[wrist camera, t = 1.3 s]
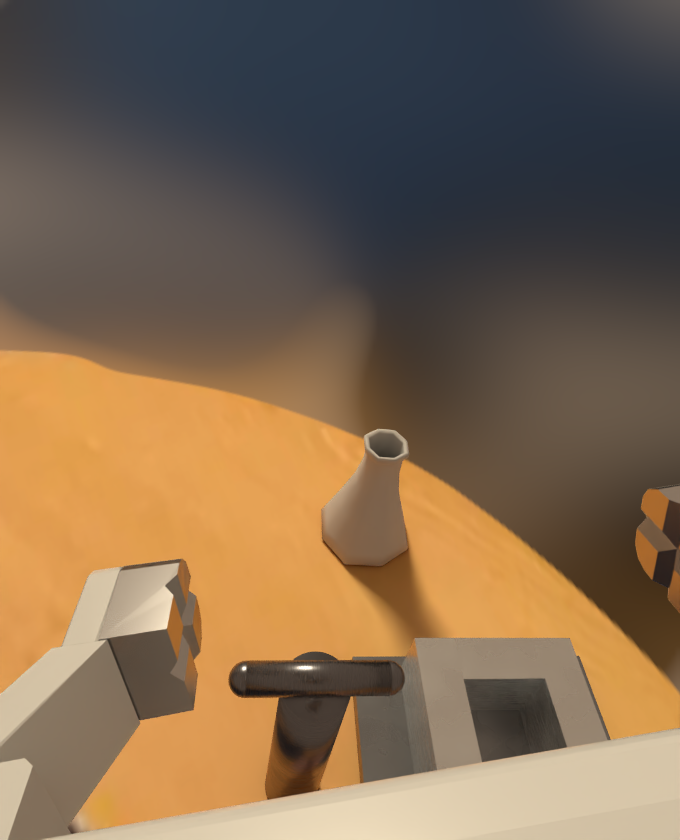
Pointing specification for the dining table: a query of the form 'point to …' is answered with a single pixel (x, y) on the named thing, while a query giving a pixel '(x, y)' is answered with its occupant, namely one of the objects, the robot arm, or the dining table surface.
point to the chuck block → (476, 706)
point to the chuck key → (309, 709)
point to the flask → (369, 505)
